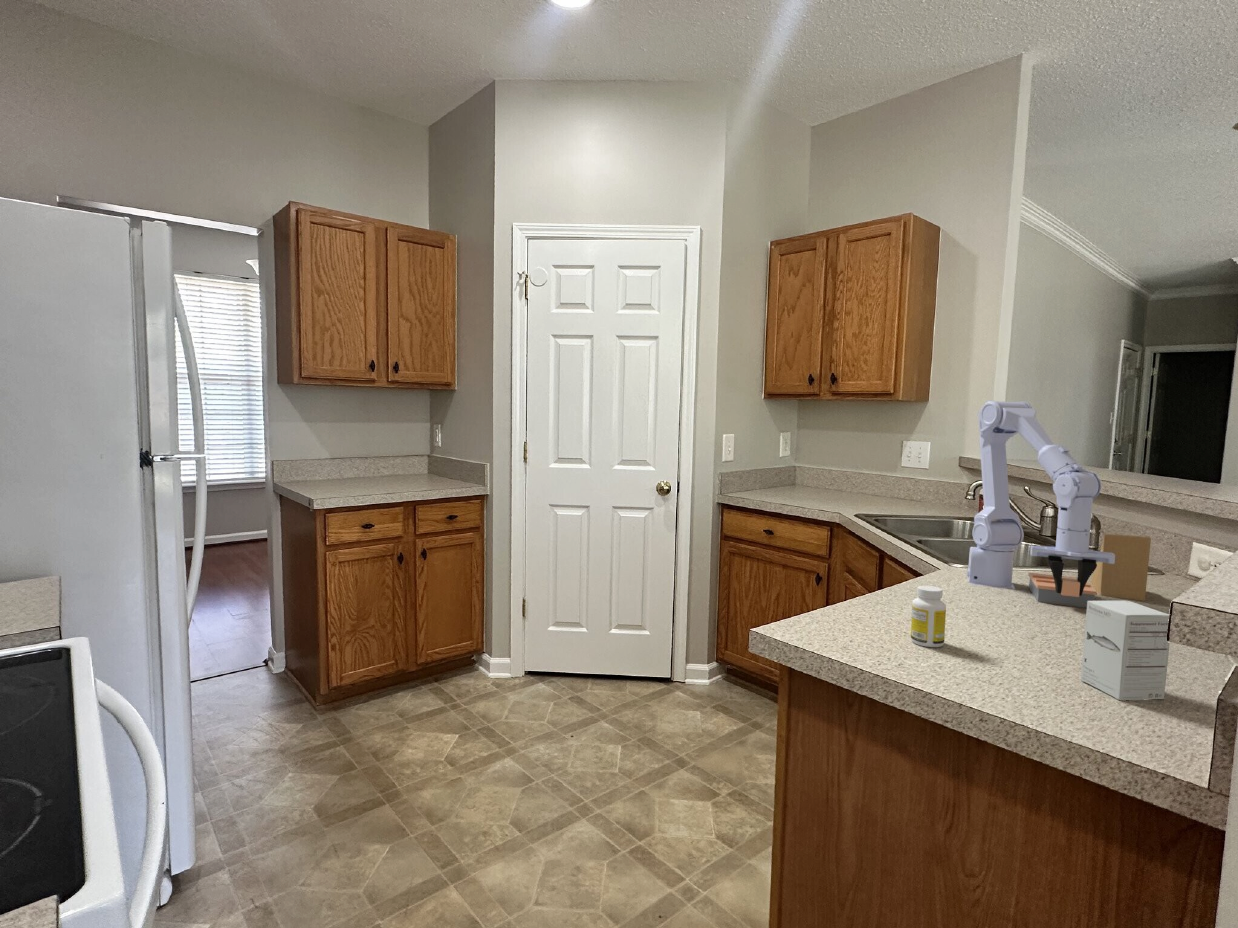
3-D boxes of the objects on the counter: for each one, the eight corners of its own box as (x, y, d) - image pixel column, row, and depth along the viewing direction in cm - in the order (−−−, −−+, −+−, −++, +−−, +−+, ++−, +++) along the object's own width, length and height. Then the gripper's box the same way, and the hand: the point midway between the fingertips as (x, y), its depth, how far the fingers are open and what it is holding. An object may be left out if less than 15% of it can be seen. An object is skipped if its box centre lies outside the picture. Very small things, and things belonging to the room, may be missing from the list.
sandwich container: (1130, 588, 160) (1135, 527, 159) (1146, 604, 147) (1152, 537, 146) (1087, 583, 164) (1092, 523, 163) (1099, 598, 151) (1104, 533, 150)
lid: (1040, 592, 140) (1041, 578, 139) (1028, 575, 156) (1029, 562, 155) (1101, 599, 135) (1102, 585, 135) (1082, 581, 151) (1083, 568, 151)
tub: (1037, 604, 144) (1038, 588, 143) (1028, 590, 156) (1029, 575, 155) (1093, 611, 140) (1094, 594, 139) (1079, 596, 151) (1081, 581, 151)
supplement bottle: (941, 640, 119) (945, 586, 118) (946, 650, 113) (949, 593, 113) (908, 636, 120) (912, 582, 120) (911, 645, 115) (914, 590, 115)
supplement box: (1078, 680, 101) (1084, 599, 100) (1123, 680, 102) (1130, 599, 101) (1118, 701, 94) (1125, 614, 93) (1166, 700, 95) (1174, 614, 94)
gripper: (1035, 528, 138) (1031, 592, 139) (1121, 535, 132) (1115, 602, 133) (1030, 523, 144) (1026, 585, 145) (1112, 530, 138) (1106, 594, 139)
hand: (1068, 593), depth 139 cm, fingers closed on lid, 3 cm apart
